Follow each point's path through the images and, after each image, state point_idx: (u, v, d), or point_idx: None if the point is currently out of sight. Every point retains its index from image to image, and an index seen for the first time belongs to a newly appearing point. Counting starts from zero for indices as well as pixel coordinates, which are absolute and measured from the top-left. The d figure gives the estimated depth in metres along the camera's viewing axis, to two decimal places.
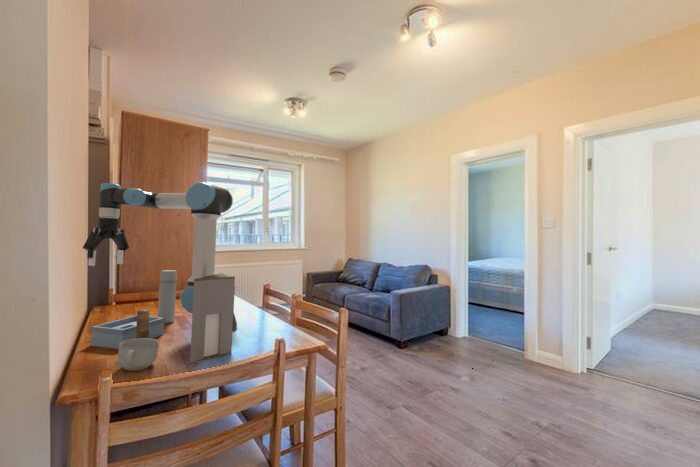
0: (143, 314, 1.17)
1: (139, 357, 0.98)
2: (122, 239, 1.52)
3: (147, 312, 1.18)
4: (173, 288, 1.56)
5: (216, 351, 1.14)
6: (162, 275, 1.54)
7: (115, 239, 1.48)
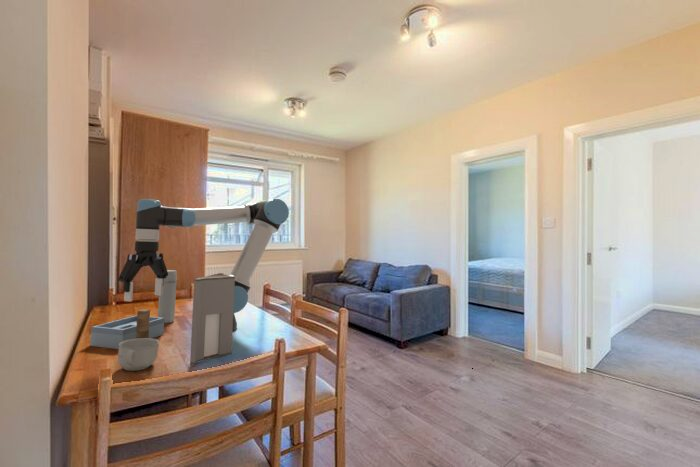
0: (143, 314, 1.17)
1: (139, 357, 0.98)
2: (161, 265, 1.26)
3: (147, 312, 1.18)
4: (173, 288, 1.56)
5: (216, 351, 1.14)
6: None
7: (153, 266, 1.23)
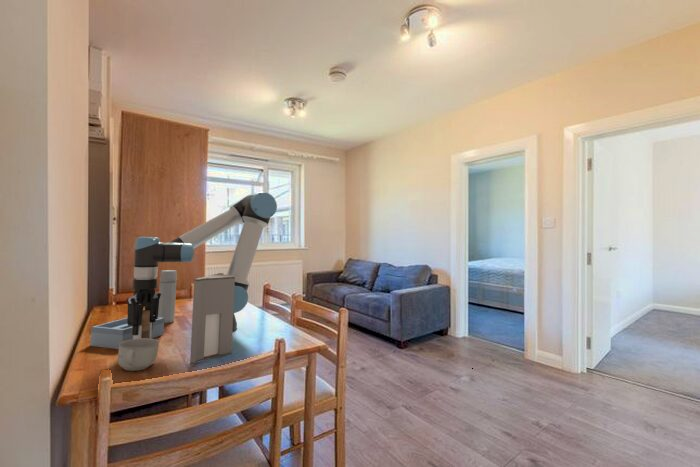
0: (143, 314, 1.17)
1: (139, 357, 0.98)
2: (154, 306, 1.24)
3: (147, 312, 1.18)
4: (173, 288, 1.56)
5: (216, 351, 1.14)
6: (162, 275, 1.54)
7: (148, 305, 1.20)
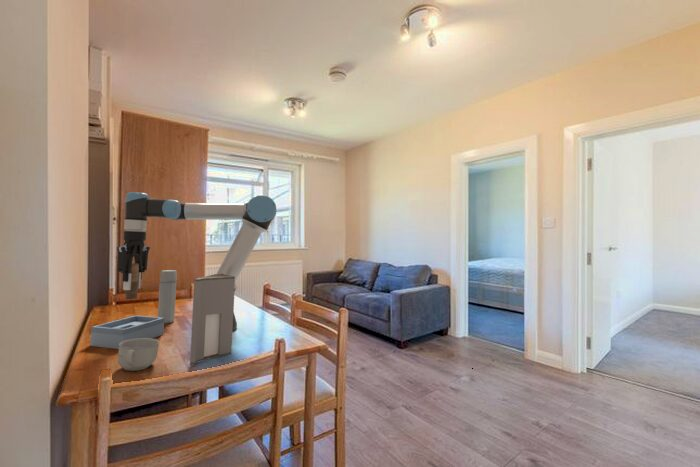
0: (132, 266, 1.27)
1: (139, 357, 0.98)
2: (143, 258, 1.34)
3: (136, 264, 1.29)
4: (173, 288, 1.56)
5: (216, 351, 1.14)
6: (162, 275, 1.54)
7: (137, 256, 1.31)
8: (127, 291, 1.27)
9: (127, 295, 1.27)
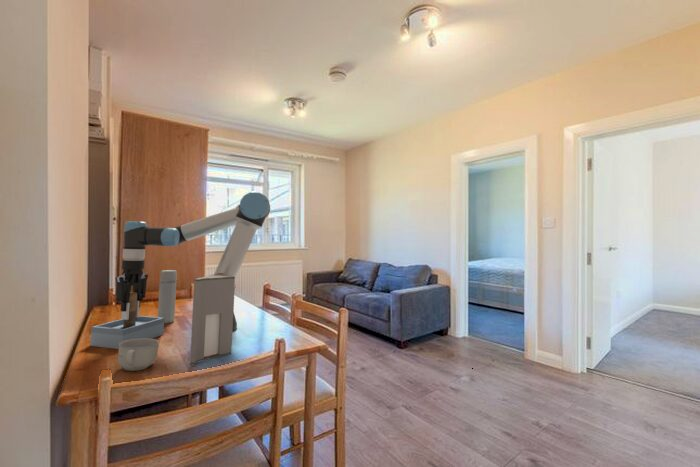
0: (130, 296, 1.27)
1: (139, 357, 0.98)
2: (142, 285, 1.34)
3: (134, 294, 1.28)
4: (173, 288, 1.56)
5: (216, 351, 1.14)
6: (162, 275, 1.54)
7: (136, 284, 1.30)
8: (125, 321, 1.27)
9: (125, 325, 1.27)
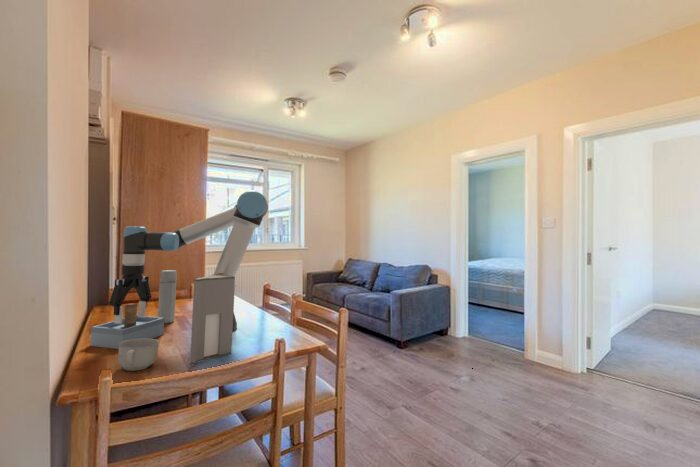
0: (130, 308, 1.27)
1: (139, 357, 0.98)
2: (145, 288, 1.35)
3: (134, 306, 1.28)
4: (173, 288, 1.56)
5: (216, 351, 1.14)
6: (162, 275, 1.54)
7: (138, 288, 1.32)
8: None
9: None
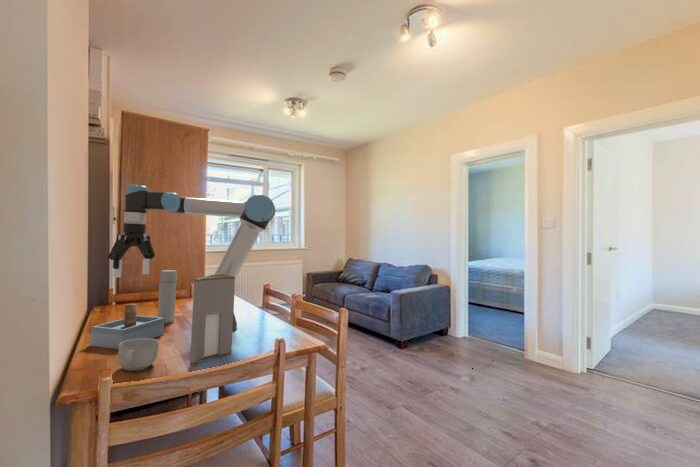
0: (130, 308, 1.27)
1: (139, 357, 0.98)
2: (148, 247, 1.37)
3: (134, 306, 1.28)
4: (173, 288, 1.56)
5: (216, 351, 1.14)
6: (162, 275, 1.54)
7: (141, 247, 1.34)
8: None
9: None
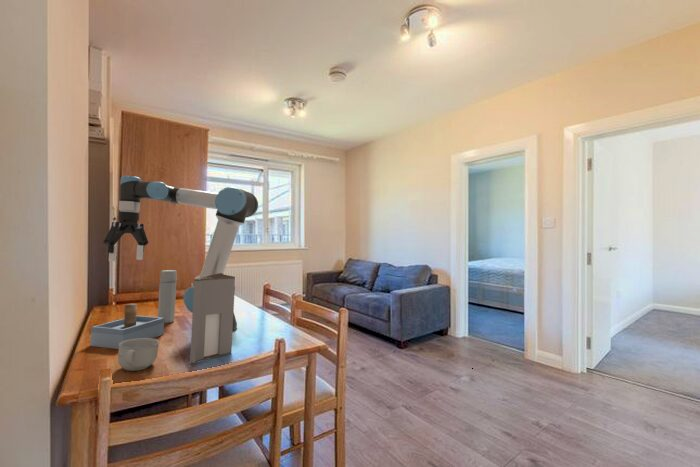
0: (130, 308, 1.27)
1: (139, 357, 0.98)
2: (142, 234, 1.47)
3: (134, 306, 1.28)
4: (173, 288, 1.56)
5: (216, 351, 1.14)
6: (162, 275, 1.54)
7: (135, 234, 1.43)
8: None
9: None
